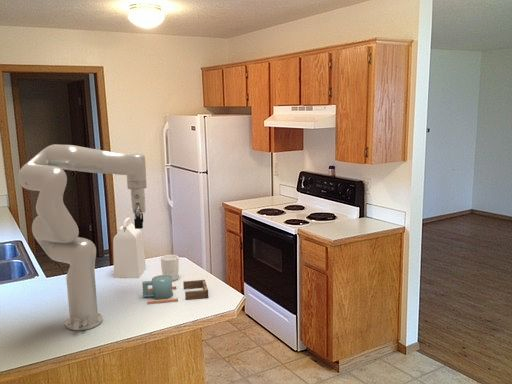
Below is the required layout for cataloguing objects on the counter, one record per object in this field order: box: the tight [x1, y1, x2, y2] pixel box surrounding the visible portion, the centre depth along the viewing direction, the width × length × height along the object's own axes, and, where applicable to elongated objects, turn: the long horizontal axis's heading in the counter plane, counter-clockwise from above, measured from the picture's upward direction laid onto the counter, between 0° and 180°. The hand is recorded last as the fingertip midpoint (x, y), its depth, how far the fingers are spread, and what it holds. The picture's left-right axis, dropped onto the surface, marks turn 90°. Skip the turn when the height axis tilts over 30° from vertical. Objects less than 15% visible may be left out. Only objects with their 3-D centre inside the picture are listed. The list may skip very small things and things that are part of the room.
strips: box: [146, 285, 179, 305], centre depth 191 cm, size 14×12×1 cm
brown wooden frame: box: [182, 279, 209, 301], centre depth 194 cm, size 12×9×3 cm
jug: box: [142, 274, 174, 300], centre depth 190 cm, size 8×12×8 cm
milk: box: [112, 217, 147, 279], centre depth 214 cm, size 12×12×26 cm
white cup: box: [160, 254, 180, 282], centre depth 209 cm, size 8×8×10 cm
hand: (139, 225), depth 192 cm, fingers open, 9 cm apart
